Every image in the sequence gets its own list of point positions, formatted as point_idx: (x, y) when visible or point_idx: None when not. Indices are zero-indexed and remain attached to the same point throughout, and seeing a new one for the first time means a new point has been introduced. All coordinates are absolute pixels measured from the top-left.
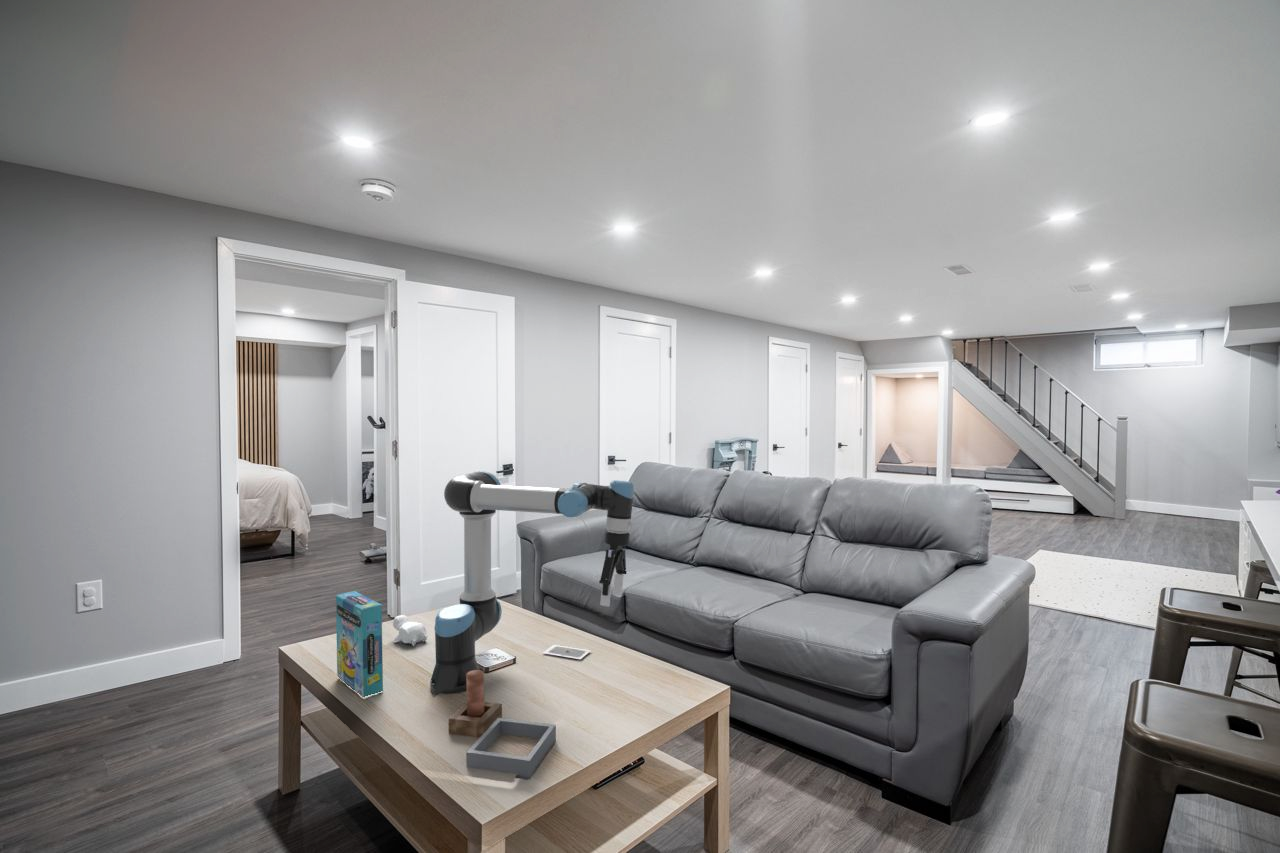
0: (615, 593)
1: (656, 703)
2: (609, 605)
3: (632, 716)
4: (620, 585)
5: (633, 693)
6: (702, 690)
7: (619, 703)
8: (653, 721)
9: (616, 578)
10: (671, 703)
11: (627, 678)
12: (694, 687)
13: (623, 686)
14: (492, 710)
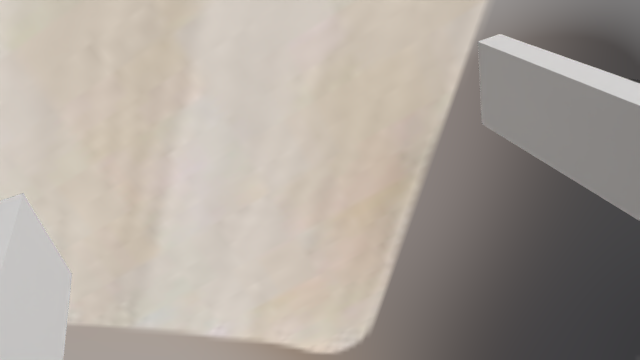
0: (486, 70)
1: (166, 252)
2: (69, 278)
3: None
4: (549, 149)
5: (186, 149)
6: (321, 316)
7: (86, 148)
8: None
9: (615, 124)
10: (194, 288)
11: (286, 60)
12: (329, 289)
13: (216, 84)
14: None
